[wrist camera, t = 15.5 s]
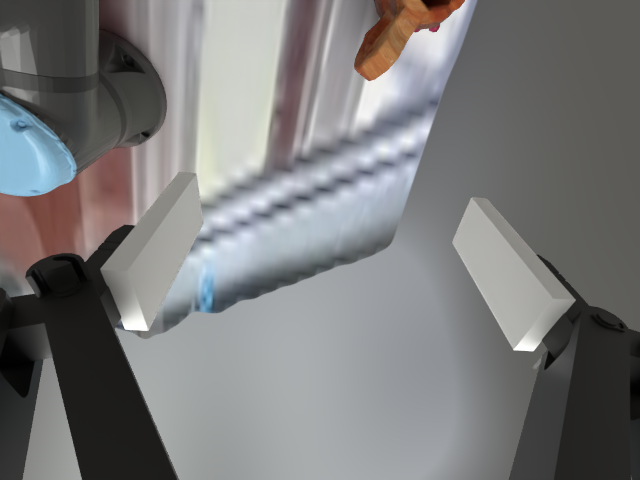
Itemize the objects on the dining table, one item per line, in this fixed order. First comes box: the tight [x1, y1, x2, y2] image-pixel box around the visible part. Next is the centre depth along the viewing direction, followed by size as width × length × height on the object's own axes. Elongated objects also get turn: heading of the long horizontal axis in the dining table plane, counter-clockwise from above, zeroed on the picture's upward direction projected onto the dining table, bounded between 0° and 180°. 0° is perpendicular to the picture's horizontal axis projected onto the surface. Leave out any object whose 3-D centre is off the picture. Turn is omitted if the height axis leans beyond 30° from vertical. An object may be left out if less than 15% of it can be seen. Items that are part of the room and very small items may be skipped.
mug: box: [354, 0, 465, 81], centre depth 35 cm, size 15×8×15 cm, turn 143°
